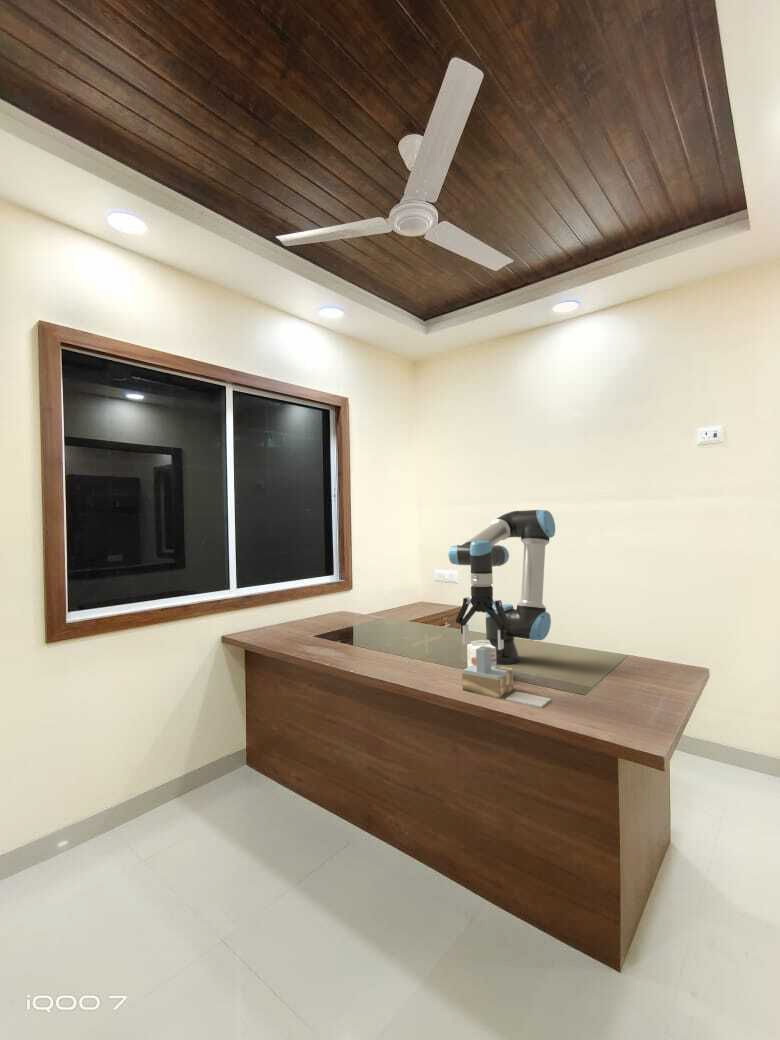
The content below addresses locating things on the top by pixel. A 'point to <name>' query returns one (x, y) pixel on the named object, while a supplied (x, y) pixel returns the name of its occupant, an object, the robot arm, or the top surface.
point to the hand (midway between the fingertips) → (482, 646)
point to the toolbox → (489, 684)
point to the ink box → (474, 645)
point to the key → (474, 660)
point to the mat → (528, 699)
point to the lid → (485, 665)
